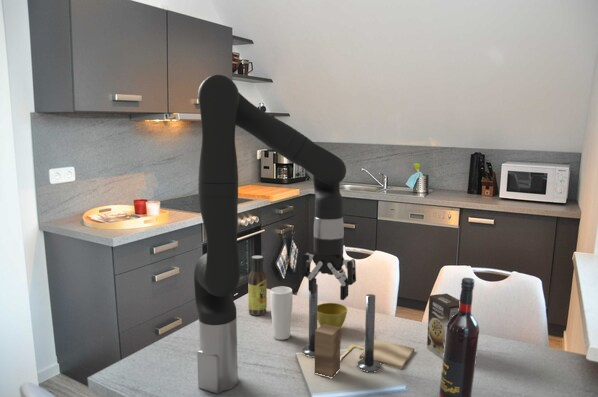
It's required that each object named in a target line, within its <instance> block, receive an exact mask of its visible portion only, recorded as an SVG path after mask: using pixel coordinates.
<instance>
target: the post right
mask: <svg viewBox="0 0 598 397" xmlns="http://www.w3.org/2000/svg"><path fill="white" fill-rule="evenodd" d="M375 318H376V295H375V294H371V293H367V294H366V295H365V323H364V324H365V327H364V329H365V330H364V331H365V332H364V347H365V359H359V360H358V362H357V368H358V367H359V368H360V369H362V370H365V371H368V372H367V373H369V372H373V373H375V372H374V371H377V370H379V369H381V364H380V363H379V362H378V361H376V360H374V339H375V325H376V324H375ZM359 368H358V369H359ZM360 369H359V370H360ZM379 371H380V370H379ZM377 372H378V371H377Z"/></svg>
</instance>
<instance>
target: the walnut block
mask: <svg viewBox="0 0 598 397" xmlns="http://www.w3.org/2000/svg"><path fill="white" fill-rule="evenodd" d="M341 329H342V327H341V328H340V327H336V326H331V325H327V324H323V325H321V326H320V325H319V326H318V327H317V329H316V330H315V357H314V374H315V373H318V374H322V375H325V376H329V377H333V376H334V375H335V374H336V372H337V371H338V370H339V369H340V370H341V361H340V356H341V339H342V338H341V335H342V334H341V332H342V331H341ZM336 375H337V374H336ZM336 375H335V376H336ZM335 376H334V377H335ZM334 377H333V378H334Z"/></svg>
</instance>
